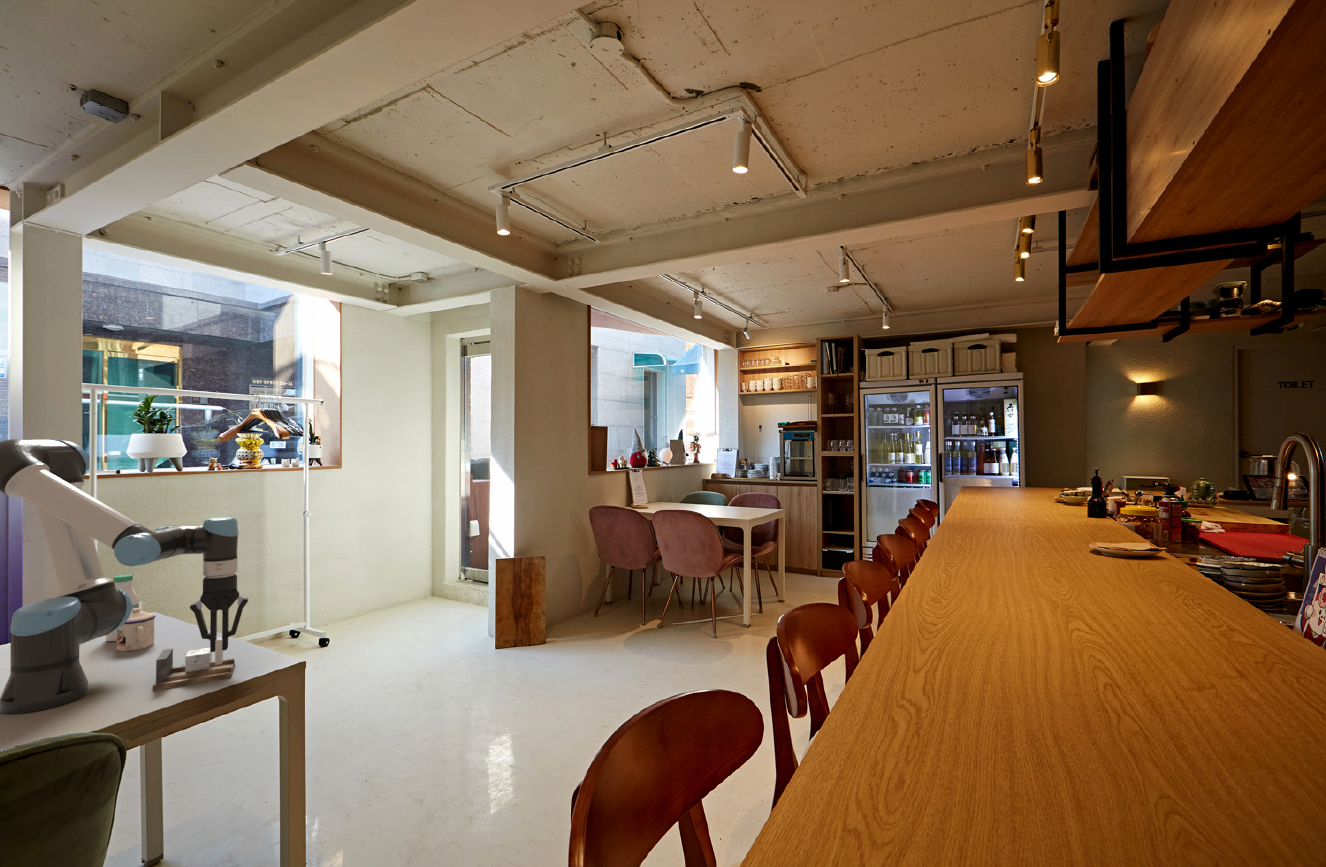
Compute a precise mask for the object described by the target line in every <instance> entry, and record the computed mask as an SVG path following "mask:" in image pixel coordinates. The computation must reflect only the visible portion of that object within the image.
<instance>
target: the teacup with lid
mask: <svg viewBox="0 0 1326 867" xmlns="http://www.w3.org/2000/svg"><path fill="white" fill-rule="evenodd" d="M155 618H156V615H155V613H152V612H147V611H144V610H141V608H140V607H139V608H134V609H132V612H131V614H130V617H129V618H128V619H127V621H126V623H125V624H124V625H122V626H121V627H120V628H118V629H117V642H116V650H117V651H118V650H119V651H118V652H131V651H130V650H133V651H138V650H137V649H139V650H142V649H141V648H143V649H146V648H149V647H151V646H153V645H154V643H155Z"/></svg>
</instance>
